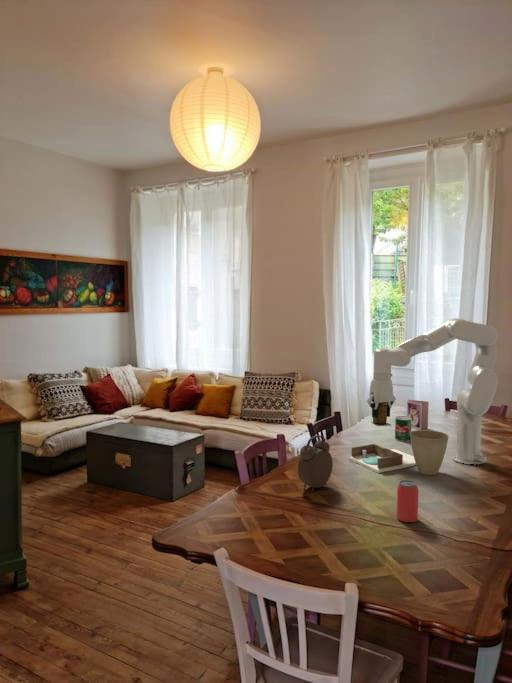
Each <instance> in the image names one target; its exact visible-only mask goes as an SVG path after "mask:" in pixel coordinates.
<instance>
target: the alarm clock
mask: <svg viewBox="0 0 512 683" xmlns="http://www.w3.org/2000/svg"><path fill="white" fill-rule="evenodd" d="M317 438H320V440H317V441H316V442H315V444H313V445H311V442H312V441H313V440H314V439H317ZM326 440H327V439H326V438H324V436H323V435H318V434H317V435H314V436H311V437H309V439H308V441H307V443H306V445H303V446H302V447H301V448H300V451H299V455H300V458H299V461H298V463H297V464H298V465H297V474H298V478H299V480H300V482H302V483H303V484H304V485H303V488H302V490H306V486H309V487H312V489H311V491H312V492H314V489H315V488H317V489H320V488H322V487H324V486H327V485H328V484H327V483H328V481H329V479H330V478H331V476H332V472H333V458H332V455H331V453H330V448H331V447H330V444H329V443H328V442H327V441H326Z"/></svg>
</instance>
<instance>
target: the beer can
mask: <svg viewBox="0 0 512 683" xmlns="http://www.w3.org/2000/svg"><path fill="white" fill-rule="evenodd" d="M396 491H397V492H396V518H397V519H398V520H399V521H401V522H404V523H408V522H411V523H415V522H417V521H418V519H419V518H418V516H419V493H420V492H419V487H418V483H417V482H416V481H413V480H409V479H404V480H402V479H401V480H400V481H399V482H398V486H397V490H396Z"/></svg>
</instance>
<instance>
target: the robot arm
mask: <svg viewBox="0 0 512 683" xmlns="http://www.w3.org/2000/svg"><path fill="white" fill-rule="evenodd" d="M454 340H460V341H463V342H468V343H470V344H474V346H475V355H474V358H473V361H472V363H471V366H470V369H469V371H468V374H467V381H468V383H469V384H470V385H471V388H464V389H462V390H461V391H459V393H458V395H457V397H456V398H457V399H456V407H457V408H456V409H457V425H456V427H457V430H456V431H457V432H456V453H454V454H453V455H452V460H453V461H455V462H456V463H459V464H463V463H464V465H470V464H474V465H473V466H476V464H477V465H482V464H484V463H486V461H487V460H488V459H487V458H488V457H486V456H483V452H481V440H482V439H481V438H482V437H481V436H482V435H481V434H482V416H483V415H485V414H486V413H487V412H488V411H489V409H490V408H491V406H492V401H493V399H494V396H495V394H496V391H497V390H498V386H499V377H498V375H497V373H496V372H495V371H494V368H495V365H496V361H497V358H498V353H499V352H498V345H497V341H498V340H499V332H498V330H497V329H496V328H495V327H493V326H491V325H487V324H483V323H478V322H474V321H470V320H465V319H462V318H455V317H454V318H450V319H448V320H446V321H445V322H444V321H443V322H442V323H441V324H439V325H437V326H435V327H433V328H432V329H430V330H428V331H426V332H424V333H421V334H419V335H418V336H415V337H413V338H410V339H409V340H406V341H404V342H402V343H401V344H399V345H396V346H395V347H393V348H392V349H391V350H390V349H389V348H376V349H375V350H374V351H373V379H371V382H370V386H369V393H368V394H369V395H368V396H369V397H368V398H367V400H366V403H367V404H368V406H369V407H370V409H371V417H372V419H373V418H378V409H377V407H378V404H379V403H383V402H386V403H387V418H389V417H391V409H392V406H393V404H394V403H395V401H396V400H397V399H396V397H395V395H394V388H393V387H394V386H393V380H392V377H393V373H392V366H393V367H400V368H401V367H402V368H403V367H406V366H408V365H409V364H410V363H411V359H412V357H415V356H416V355H420V354H422V353H429V352H432V351H436V350H438V349H440V348H441V347H443V346H445V345H447V344H449V343H451V342H452V341H454Z"/></svg>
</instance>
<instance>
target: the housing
mask: <svg viewBox="0 0 512 683" xmlns="http://www.w3.org/2000/svg"><path fill="white" fill-rule="evenodd" d="M363 450H366V454H372V453H374V454H376V455H379V456H381V457H383V458H378V469H381V468H386V467H391V466H396V465H401V464H402V463H403V455H402V454H399V453H397V452H394V451H391V449H389V448H386V447H383V446H381V445H379V444H376V443H369V444H365V445H359V446H352V447H351V457H355V456H361V455H363Z"/></svg>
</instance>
